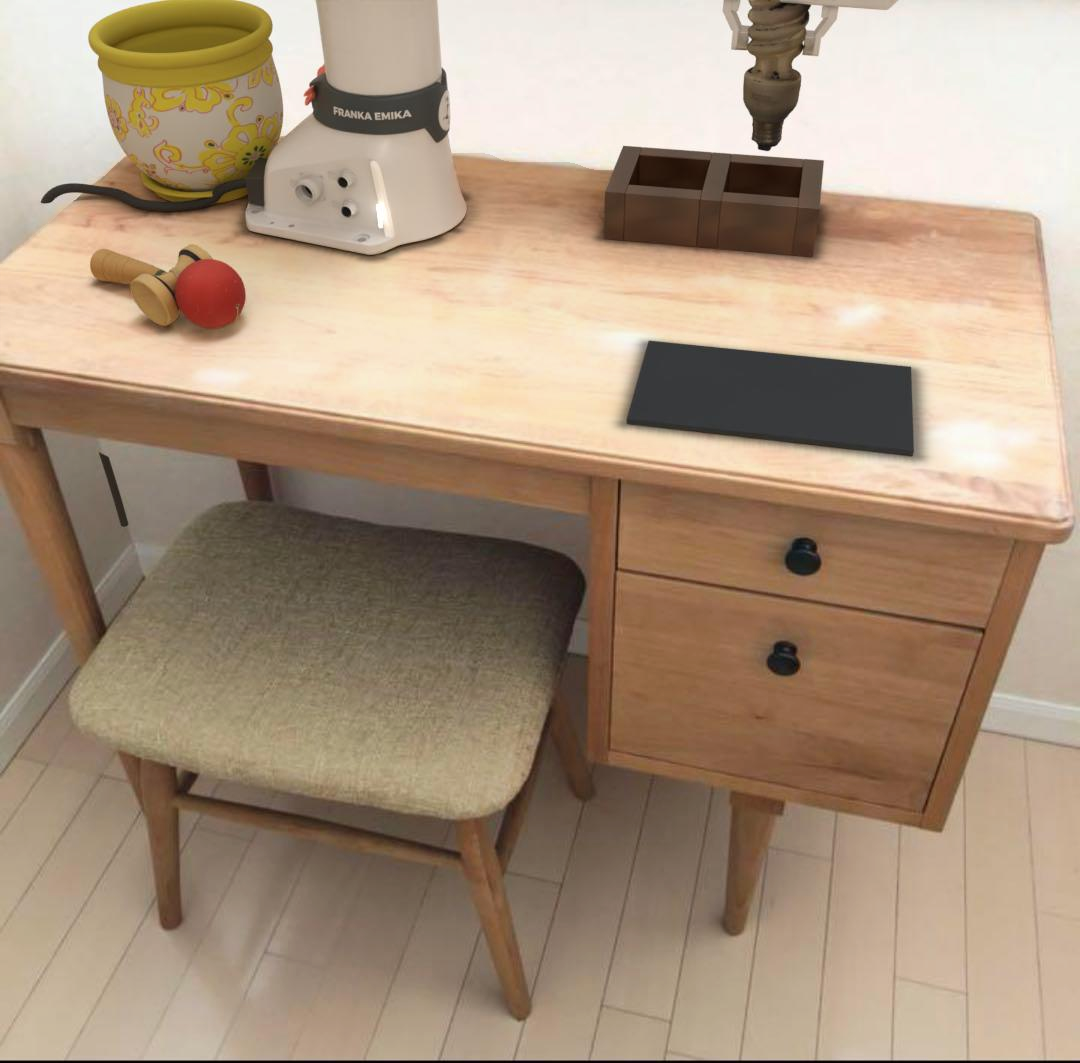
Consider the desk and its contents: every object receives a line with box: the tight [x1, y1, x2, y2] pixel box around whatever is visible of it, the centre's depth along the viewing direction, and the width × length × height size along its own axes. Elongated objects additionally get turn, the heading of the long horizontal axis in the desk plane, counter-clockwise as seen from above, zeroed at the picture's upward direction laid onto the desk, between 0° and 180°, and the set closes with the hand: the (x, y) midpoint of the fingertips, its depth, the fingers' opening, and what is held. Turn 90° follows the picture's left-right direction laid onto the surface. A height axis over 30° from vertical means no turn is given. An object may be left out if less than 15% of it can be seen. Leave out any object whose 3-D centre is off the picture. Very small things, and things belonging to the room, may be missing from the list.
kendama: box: [89, 243, 247, 329], centre depth 110 cm, size 8×6×18 cm
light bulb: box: [742, 0, 812, 152], centre depth 112 cm, size 6×6×15 cm
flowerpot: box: [87, 0, 284, 205], centre depth 127 cm, size 18×18×16 cm
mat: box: [626, 340, 915, 456], centre depth 99 cm, size 22×12×1 cm, turn 78°
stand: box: [603, 145, 825, 258], centre depth 121 cm, size 20×11×5 cm, turn 78°
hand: (774, 51), depth 111 cm, fingers closed on light bulb, 5 cm apart
